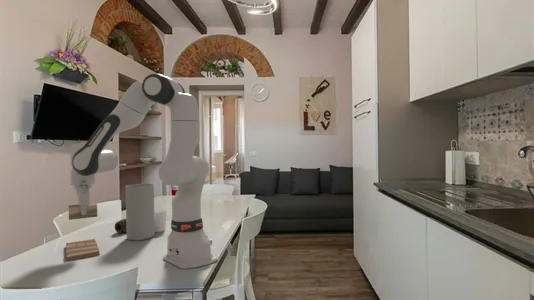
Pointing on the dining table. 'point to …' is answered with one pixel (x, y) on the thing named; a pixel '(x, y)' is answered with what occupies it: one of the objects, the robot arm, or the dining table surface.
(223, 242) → the dining table surface
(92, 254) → the board
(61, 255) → the dining table surface
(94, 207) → the sanding block
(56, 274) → the dining table surface
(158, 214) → the white cup
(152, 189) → the cylinder vase
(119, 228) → the brown wooden tube
